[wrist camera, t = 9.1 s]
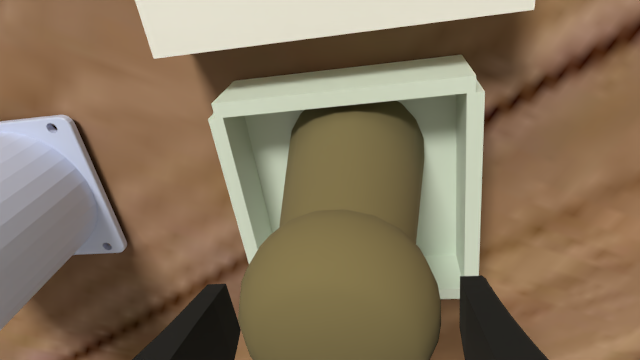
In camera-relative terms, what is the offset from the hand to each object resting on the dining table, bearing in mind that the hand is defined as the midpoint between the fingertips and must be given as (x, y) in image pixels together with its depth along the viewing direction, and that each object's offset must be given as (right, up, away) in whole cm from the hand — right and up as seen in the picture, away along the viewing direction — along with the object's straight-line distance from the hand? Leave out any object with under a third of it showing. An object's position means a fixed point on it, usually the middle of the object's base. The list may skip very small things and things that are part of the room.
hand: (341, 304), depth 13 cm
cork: (+1, +5, +6) cm, 8 cm away
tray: (+1, +4, +7) cm, 8 cm away
